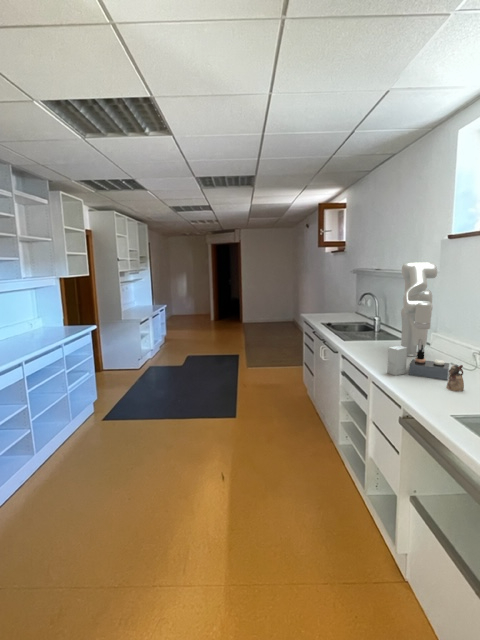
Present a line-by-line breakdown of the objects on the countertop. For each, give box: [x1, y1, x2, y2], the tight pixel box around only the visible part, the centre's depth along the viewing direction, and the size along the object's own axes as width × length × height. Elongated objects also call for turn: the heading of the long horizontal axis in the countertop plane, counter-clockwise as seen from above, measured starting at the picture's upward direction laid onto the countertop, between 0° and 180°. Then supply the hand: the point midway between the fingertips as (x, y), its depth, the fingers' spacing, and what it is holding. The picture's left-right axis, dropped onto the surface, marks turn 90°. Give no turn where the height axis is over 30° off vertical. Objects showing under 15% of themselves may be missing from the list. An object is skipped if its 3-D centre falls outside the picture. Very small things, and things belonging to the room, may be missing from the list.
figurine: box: [446, 363, 465, 392], centre depth 172 cm, size 7×7×12 cm
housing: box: [408, 358, 450, 381], centre depth 194 cm, size 12×18×6 cm, turn 57°
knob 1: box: [414, 357, 427, 364], centre depth 197 cm, size 5×5×8 cm
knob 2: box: [433, 359, 446, 367], centre depth 192 cm, size 5×5×8 cm
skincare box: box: [387, 345, 408, 377], centre depth 197 cm, size 8×6×15 cm
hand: (420, 358), depth 196 cm, fingers closed
